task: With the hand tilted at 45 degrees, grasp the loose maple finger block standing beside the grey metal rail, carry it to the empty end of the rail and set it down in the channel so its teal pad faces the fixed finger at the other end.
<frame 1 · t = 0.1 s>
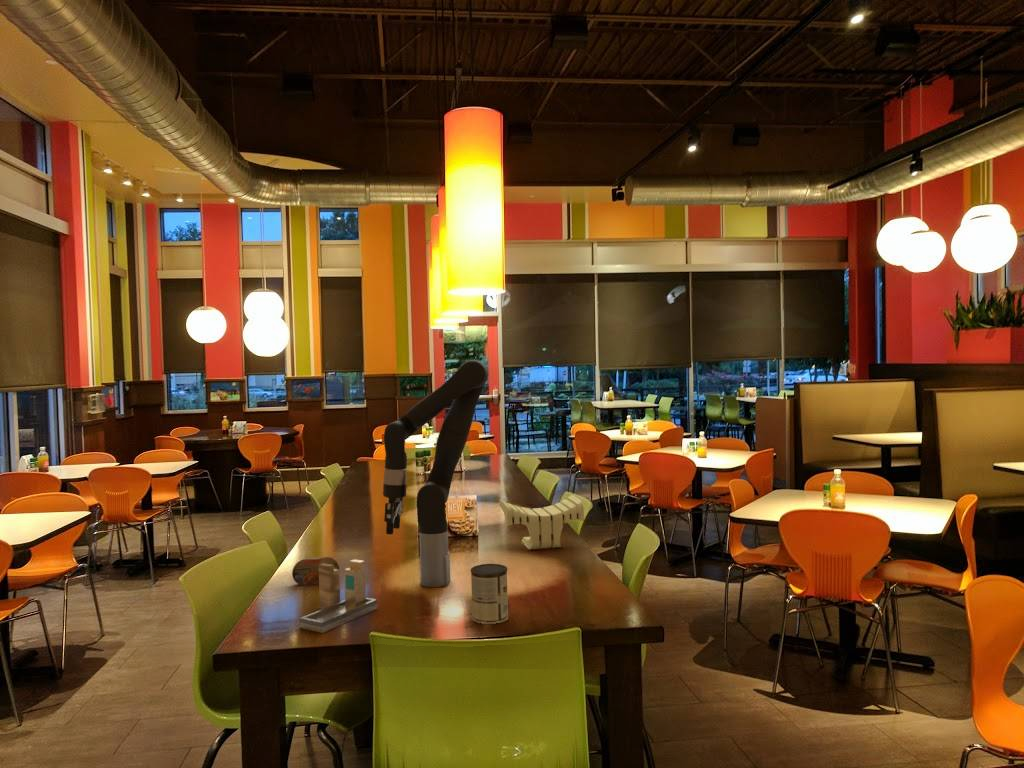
hand: (393, 531, 240), 17 cm above the table, tool pointing down, fingers open, 8 cm apart
tin: (316, 583, 243), on the table
maple finger: (330, 607, 218), on the table
coffee can: (490, 618, 205), on the table
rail: (339, 617, 208), on the table
slatted curved stool: (541, 545, 286), on the table
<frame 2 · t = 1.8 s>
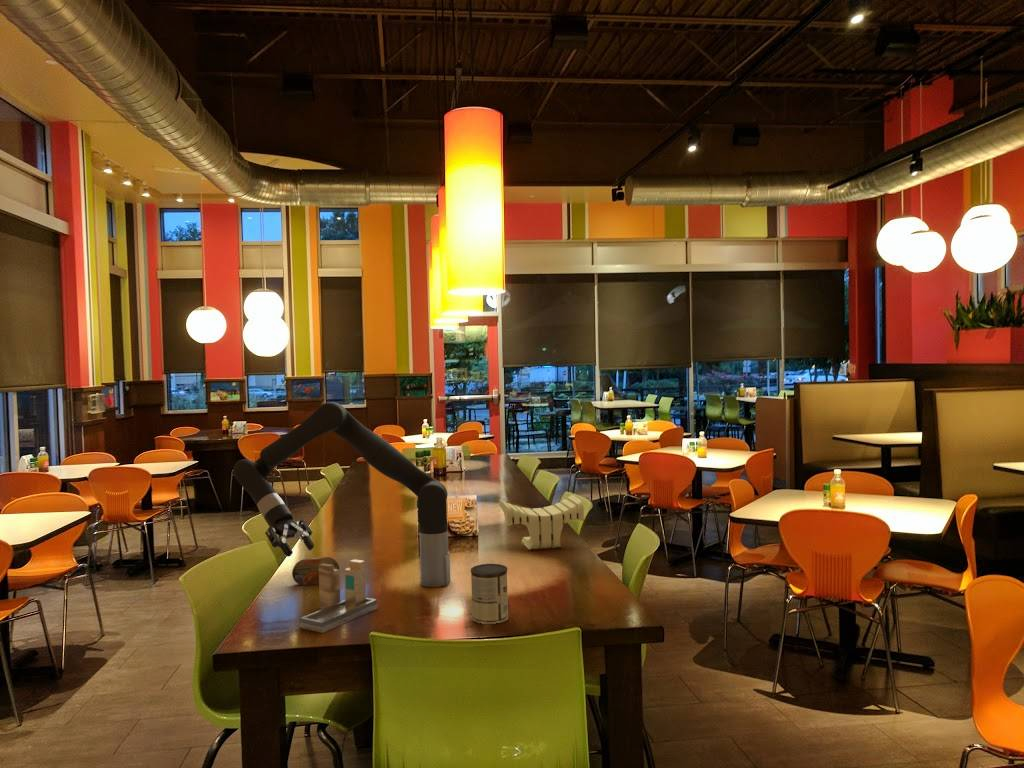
hand: (301, 551, 223), 15 cm above the table, tool tilted 45°, fingers open, 8 cm apart
nothing on the table moved.
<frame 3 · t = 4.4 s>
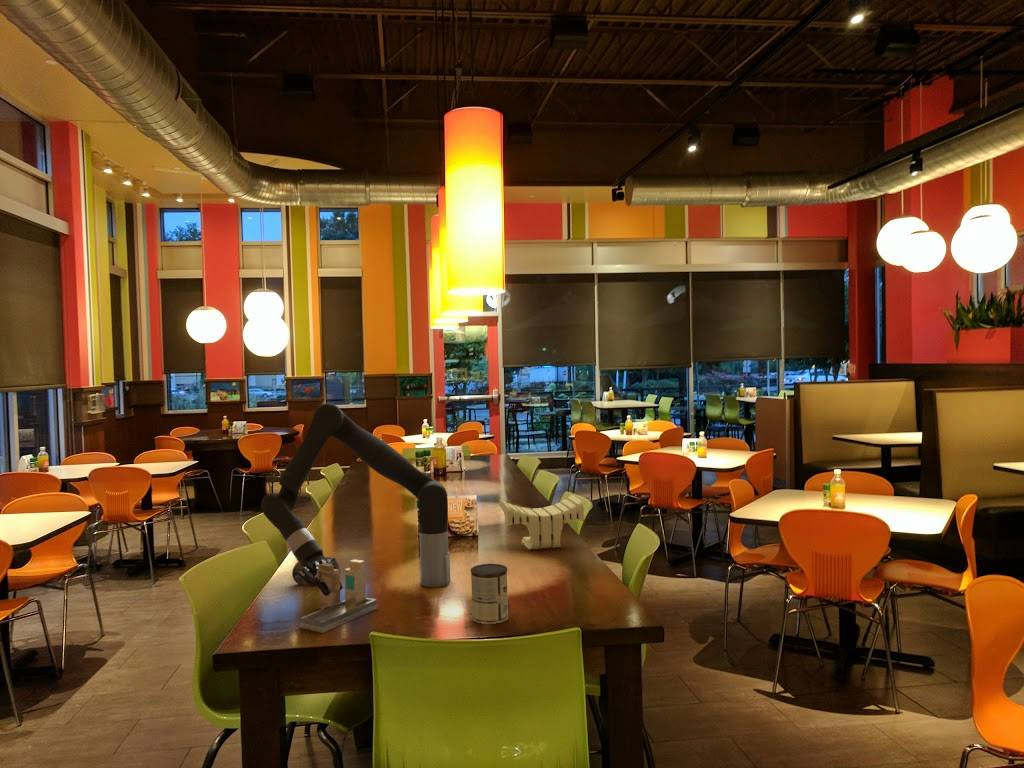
hand: (334, 591, 217), 5 cm above the table, tool tilted 45°, fingers closed on maple finger, 4 cm apart
maple finger: (330, 607, 218), on the table, touching gripper
everything else where it was.
when the fingers open (8 cm above the table, at t = 10.7 s): maple finger drops 1 cm, resting on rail.
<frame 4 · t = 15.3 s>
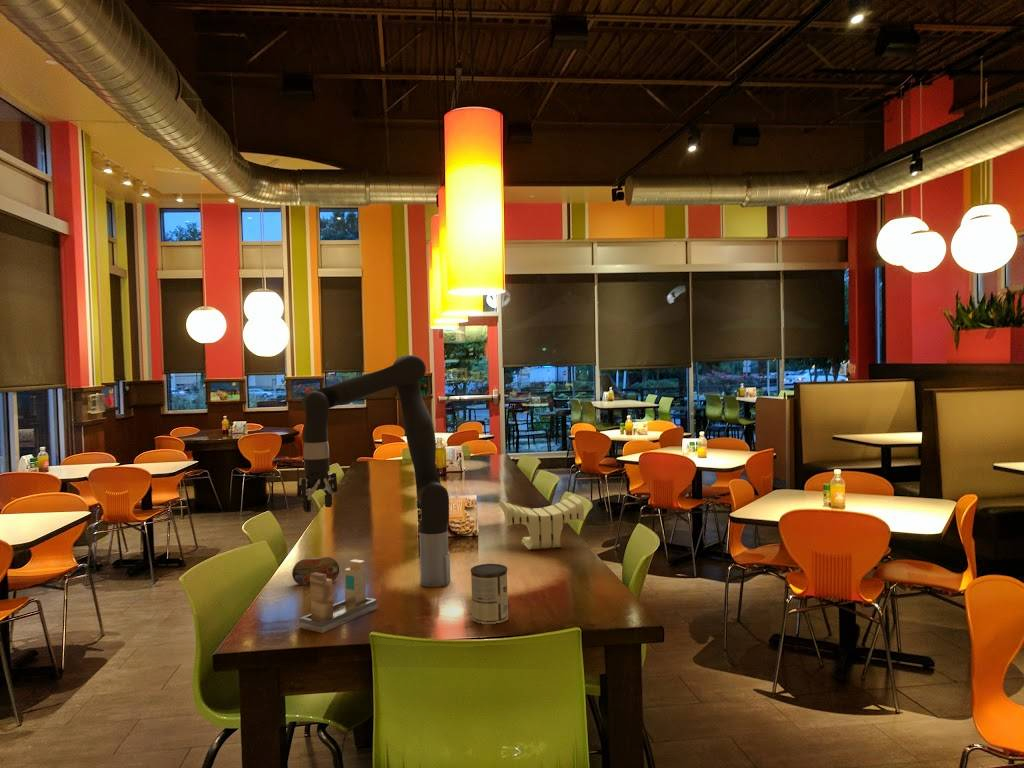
hand: (318, 509, 223), 28 cm above the table, tool pointing down, fingers open, 8 cm apart
maple finger: (322, 619, 203), point 1 cm above the table, touching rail
everything else where it was.
at the end: maple finger inside the target area on the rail (0.2 cm from its centre), point 1.5 cm above the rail's base; maple finger tilted 0°; the gripper is holding nothing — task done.
